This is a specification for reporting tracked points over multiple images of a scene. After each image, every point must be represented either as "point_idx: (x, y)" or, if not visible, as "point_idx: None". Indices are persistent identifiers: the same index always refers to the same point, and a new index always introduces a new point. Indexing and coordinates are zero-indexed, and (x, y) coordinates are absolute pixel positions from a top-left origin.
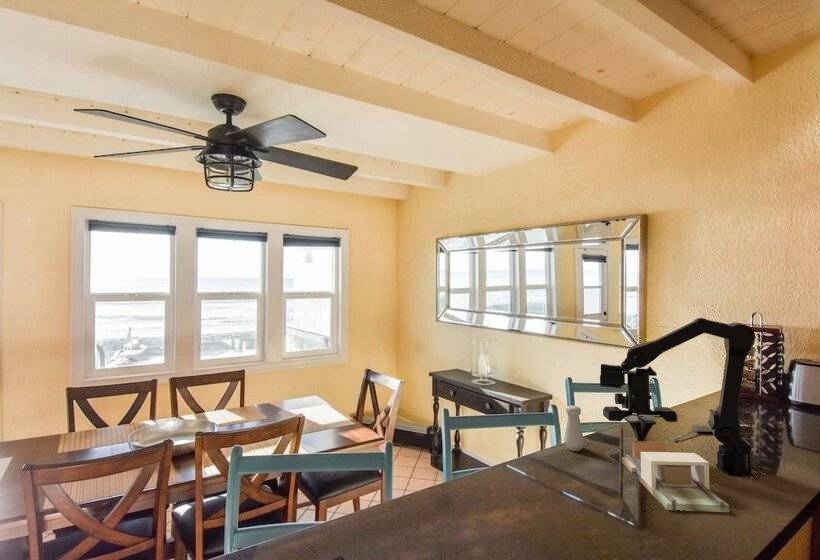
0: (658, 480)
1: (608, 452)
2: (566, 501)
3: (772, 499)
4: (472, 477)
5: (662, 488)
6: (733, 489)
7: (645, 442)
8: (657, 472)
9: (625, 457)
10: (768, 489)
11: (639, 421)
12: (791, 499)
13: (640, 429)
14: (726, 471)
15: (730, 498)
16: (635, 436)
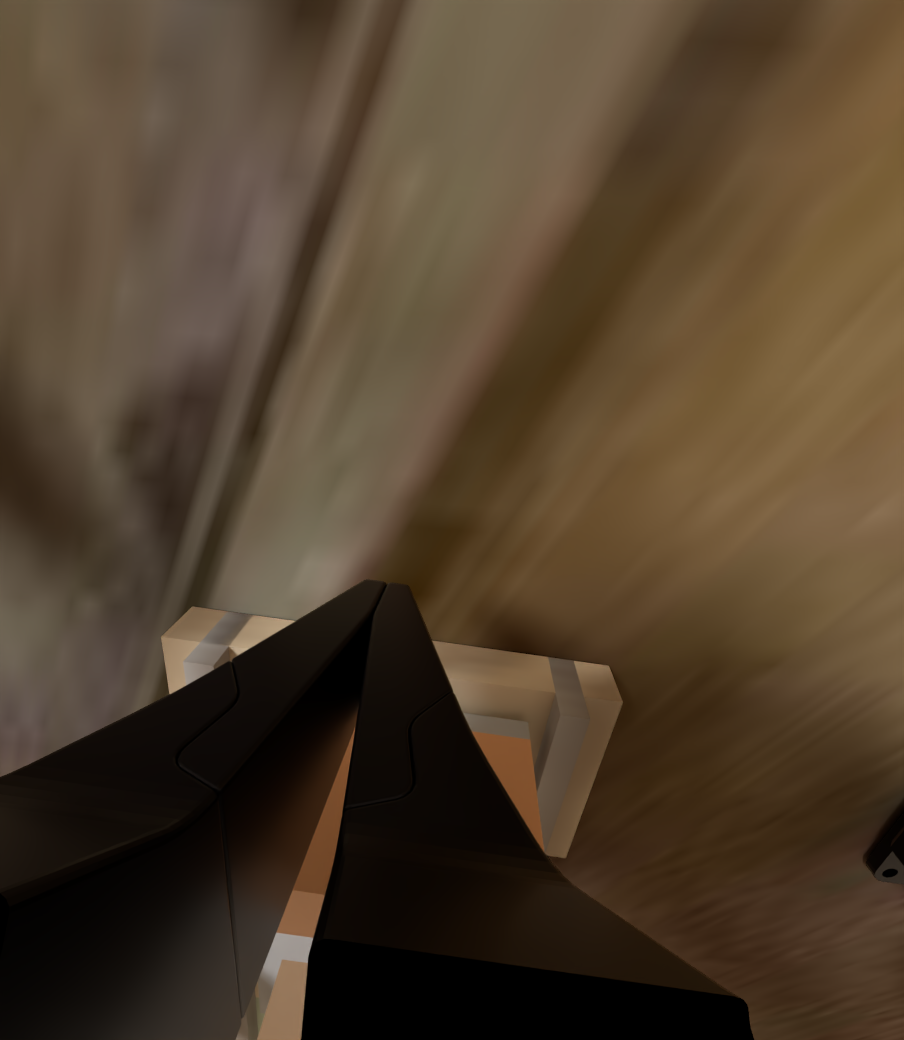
0: (261, 989)
1: (119, 337)
2: None
3: (775, 1026)
4: None
5: (241, 1038)
6: (689, 957)
7: (294, 925)
8: (272, 991)
9: (195, 644)
10: (882, 977)
11: (316, 960)
12: (866, 1035)
13: (238, 989)
14: (889, 856)
15: None
16: (309, 614)
